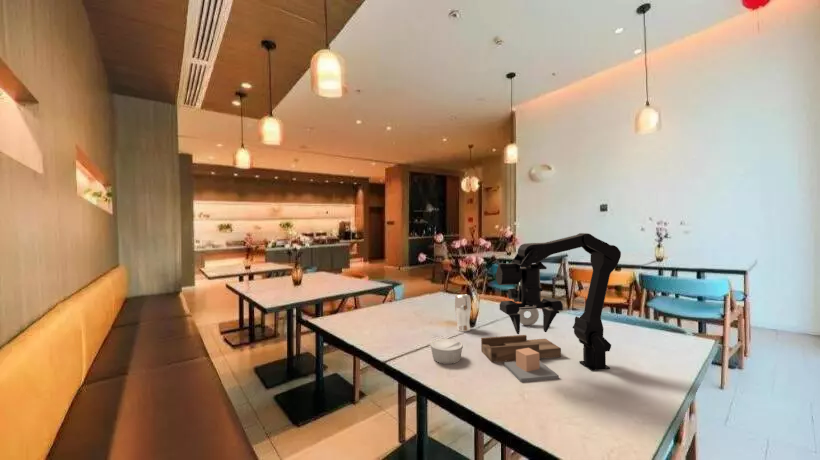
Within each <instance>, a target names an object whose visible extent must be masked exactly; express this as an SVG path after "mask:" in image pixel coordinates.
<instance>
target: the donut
mask: <svg viewBox="0 0 820 460" xmlns="http://www.w3.org/2000/svg"><path fill="white" fill-rule="evenodd" d="M525 306H526V305H525ZM527 306H528V305H527ZM533 306H535V305H533ZM525 312H529V313H530V316H529V317H525ZM518 314H520V325H523V326H527V327H528V326H532V325H534V324H536V323H537V321H538V320H539V317H540V314H539V310H538V308H534V309H520V310H519V312H518Z"/></svg>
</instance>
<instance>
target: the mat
mask: <svg viewBox="0 0 820 460" xmlns="http://www.w3.org/2000/svg"><path fill="white" fill-rule="evenodd" d="M503 366H504V367H505V368H506V369H507V370H508V371H509V372H510V373H511V374H512V375H513V377H515V378H516V380H518V381H519V382H520V383H526V382H537V381H545V380H546V381H547V380H559V379H560V378H559V376H560V375H559V373H556V372H555V371H554V370H553V369H551V368H550V367H548V366H547V365H546V364H545V363H543V361H541V360H540V369H537V370H532V371H528V372H526V371H524V370H523V369H521V368H519V367H518V366H516V361H503Z"/></svg>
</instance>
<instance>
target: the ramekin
mask: <svg viewBox="0 0 820 460" xmlns="http://www.w3.org/2000/svg"><path fill="white" fill-rule="evenodd" d="M429 344H430V345H429V346H430V349H431V354H432V359H433V360H434V361H435V362H436V361H437V363H438V362H439V363H438V364H442V363H443V364H445V365H452V363H453V364H455V363H458V362H459V361H460V360H461V357H462V350H463V348H464V346H463V343H462V341H459V340H457V339H452V338H439V339H435V340H433V341H431V342H430V343H429Z"/></svg>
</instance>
